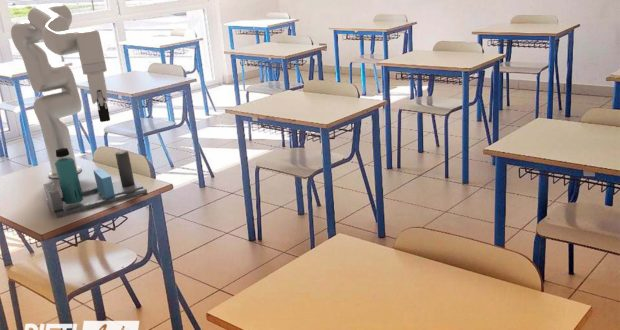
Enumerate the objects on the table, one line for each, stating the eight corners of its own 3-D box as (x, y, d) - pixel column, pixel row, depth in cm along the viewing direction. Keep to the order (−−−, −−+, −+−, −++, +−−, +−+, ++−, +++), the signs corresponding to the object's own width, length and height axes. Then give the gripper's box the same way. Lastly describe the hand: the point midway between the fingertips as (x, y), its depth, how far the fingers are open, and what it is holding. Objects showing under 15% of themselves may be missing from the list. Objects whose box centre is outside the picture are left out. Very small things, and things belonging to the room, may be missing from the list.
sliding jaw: (98, 191, 226) (90, 155, 221) (133, 182, 232) (126, 146, 227) (106, 200, 216) (98, 163, 211) (143, 190, 222) (136, 153, 218)
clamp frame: (47, 204, 220) (42, 182, 217) (133, 181, 234) (129, 161, 231) (56, 218, 206) (51, 195, 203) (147, 193, 220) (143, 171, 218)
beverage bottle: (78, 208, 213) (65, 151, 206) (60, 208, 214) (47, 152, 208) (88, 201, 219) (75, 145, 212) (71, 201, 220) (58, 146, 214)
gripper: (82, 66, 215) (93, 115, 221) (82, 73, 200) (93, 125, 205) (105, 63, 217) (115, 111, 223) (106, 69, 202) (117, 121, 207)
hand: (104, 118), depth 214 cm, fingers open, 9 cm apart
